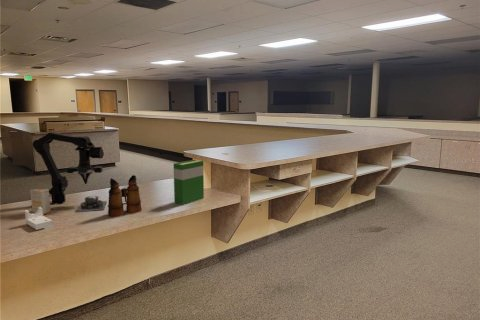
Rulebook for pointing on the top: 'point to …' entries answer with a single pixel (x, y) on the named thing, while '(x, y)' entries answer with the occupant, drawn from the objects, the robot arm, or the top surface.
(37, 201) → the supplement box
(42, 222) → the bracket
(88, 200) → the domed button housing
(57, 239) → the top surface
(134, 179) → the binoculars
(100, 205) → the barrel plate
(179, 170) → the hardback book
